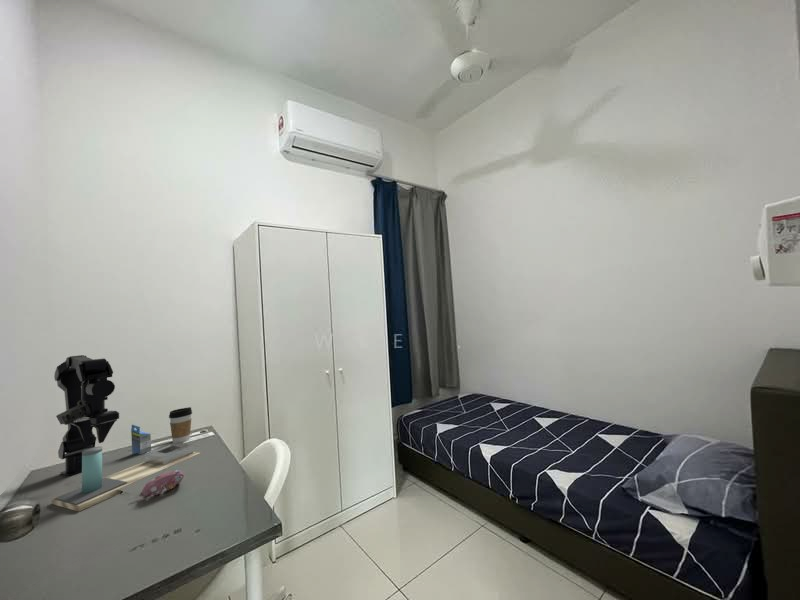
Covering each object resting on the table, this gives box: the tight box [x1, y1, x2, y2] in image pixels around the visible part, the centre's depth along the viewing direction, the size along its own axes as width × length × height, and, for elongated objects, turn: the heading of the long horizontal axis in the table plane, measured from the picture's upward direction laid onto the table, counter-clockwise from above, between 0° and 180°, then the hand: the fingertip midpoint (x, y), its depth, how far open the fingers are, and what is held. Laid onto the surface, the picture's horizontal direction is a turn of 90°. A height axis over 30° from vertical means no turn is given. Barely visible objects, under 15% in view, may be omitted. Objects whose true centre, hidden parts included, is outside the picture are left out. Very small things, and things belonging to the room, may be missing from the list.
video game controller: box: [141, 469, 185, 498], centre depth 93 cm, size 10×5×7 cm, turn 144°
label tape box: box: [130, 423, 152, 455], centre depth 125 cm, size 9×4×12 cm, turn 59°
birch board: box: [51, 451, 200, 513], centre depth 104 cm, size 15×35×2 cm, turn 159°
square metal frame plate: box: [143, 442, 195, 466], centre depth 116 cm, size 11×11×3 cm
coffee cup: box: [168, 406, 193, 444], centre depth 134 cm, size 8×8×15 cm
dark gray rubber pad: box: [53, 477, 127, 505], centre depth 94 cm, size 12×12×1 cm
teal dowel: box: [81, 446, 103, 494], centre depth 94 cm, size 4×4×12 cm
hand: (93, 441), depth 105 cm, fingers open, 9 cm apart
